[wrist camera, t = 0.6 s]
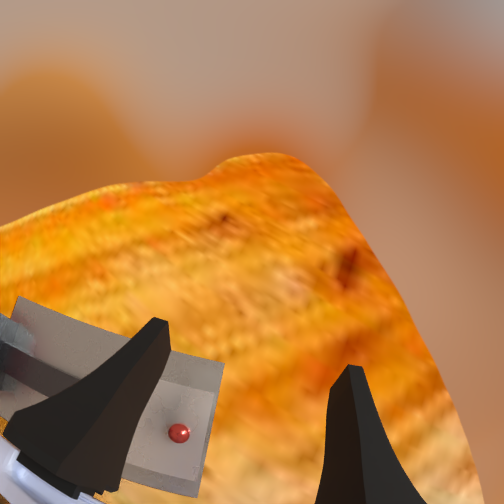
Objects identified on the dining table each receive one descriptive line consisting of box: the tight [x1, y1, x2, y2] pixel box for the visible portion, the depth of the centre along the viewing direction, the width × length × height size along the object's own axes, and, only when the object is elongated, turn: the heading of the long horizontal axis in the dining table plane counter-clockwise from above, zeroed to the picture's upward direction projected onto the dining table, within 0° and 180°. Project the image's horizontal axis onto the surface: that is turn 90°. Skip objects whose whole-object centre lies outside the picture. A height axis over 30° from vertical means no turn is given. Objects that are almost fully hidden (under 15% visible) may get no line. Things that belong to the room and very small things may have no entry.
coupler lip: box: [0, 296, 225, 498], centre depth 21 cm, size 14×24×4 cm, turn 80°
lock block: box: [125, 379, 214, 482], centre depth 20 cm, size 8×8×5 cm
